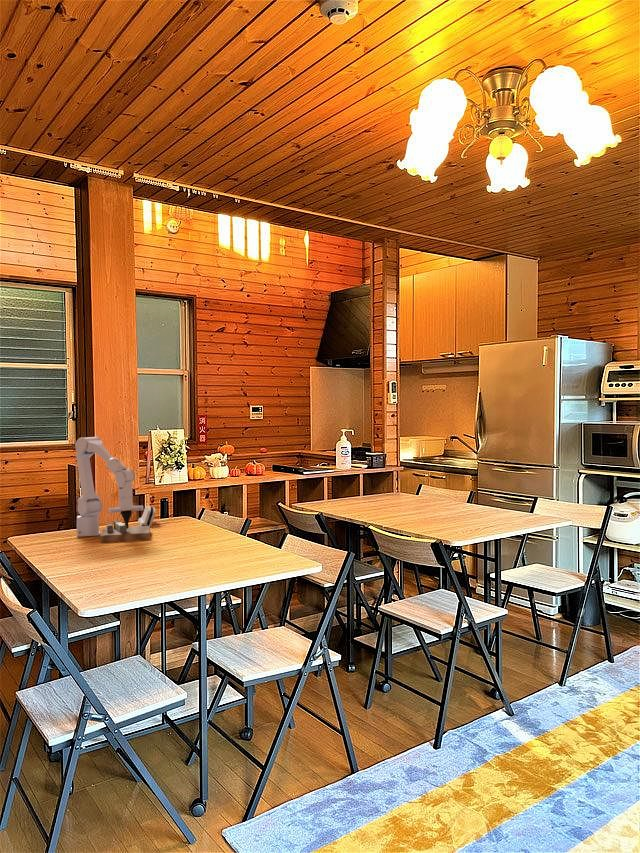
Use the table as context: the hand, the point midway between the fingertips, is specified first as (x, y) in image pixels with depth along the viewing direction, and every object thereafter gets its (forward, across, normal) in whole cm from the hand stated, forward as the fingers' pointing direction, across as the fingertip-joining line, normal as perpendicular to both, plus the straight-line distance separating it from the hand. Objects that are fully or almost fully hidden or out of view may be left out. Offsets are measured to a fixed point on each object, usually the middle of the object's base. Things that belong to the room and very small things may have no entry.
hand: (126, 528), depth 287 cm
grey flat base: (+4, 0, +3) cm, 6 cm away
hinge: (+5, +16, +33) cm, 37 cm away
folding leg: (+1, -2, +5) cm, 5 cm away
